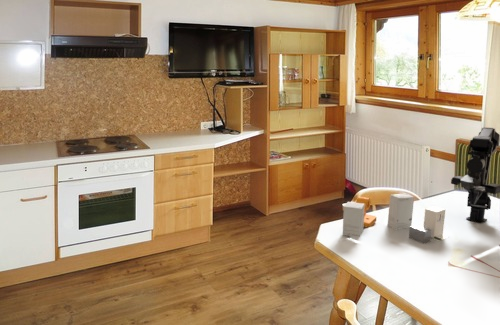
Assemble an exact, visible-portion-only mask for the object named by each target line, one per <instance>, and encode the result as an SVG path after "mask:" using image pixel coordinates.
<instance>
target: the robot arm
mask: <svg viewBox="0 0 500 325" xmlns="http://www.w3.org/2000/svg"><path fill="white" fill-rule="evenodd" d="M468 145H469V146H468V151H467V155H468V156H471V157H470V159H469V160H468V161H467V163H466V169H467V173H466V174H465V175H464V176H462V175H457V176H453V177H452V178H450V184H451V185H456V186H458V185H460V187H461V188H463V189H464V190H466V191H467V193H468V194H467V202H466V203H467V204H466V206H467V207H470V212H469V216H468V217H466V220H468V221H472V222H475V223H479V224H481V223H484V222H486V221H488V219H487V218H485V213H486V210H488V211H489V210H491V205H492V199H491V196H490V194H493V195H496V194H499V193H500V184H499V183H488V178H489V174H490V173H489V172H490V166H491V162H492V161H491V160H492V155H493V154H495V152H497V148H498V147H499V146H500V133H498V132H497V130H496V128H494V127H489V126H488V127H487V126H486V127H485V126H484V127H481V131H480V132H478V135H474V136H473V137H472V138H471V139H470V141H469V144H468ZM487 183H488V184H487Z"/></svg>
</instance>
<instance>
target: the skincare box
mask: <svg viewBox="0 0 500 325" xmlns="http://www.w3.org/2000/svg"><path fill="white" fill-rule="evenodd" d="M414 199H415V196H413V195H410V194H408V193H397V194H395V193H393V194H390V196H389V204H388V205H389V207H388V216H387V226H389V227H390V228H392V229H393V230H402V229H406V228H407V229H410V226H412V221H413V211H414V203H415V200H414Z"/></svg>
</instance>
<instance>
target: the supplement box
mask: <svg viewBox="0 0 500 325" xmlns="http://www.w3.org/2000/svg"><path fill="white" fill-rule="evenodd" d="M364 208H365V204H363V203H356V202H354V201H353V202H352V201H347V202H346V203H345V204H344V206H343V217H342V218H343V219H342V236H346V237H349V235H351V236H359V237H361V236H362V234H363V232H364V227H363V226H364Z"/></svg>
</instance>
